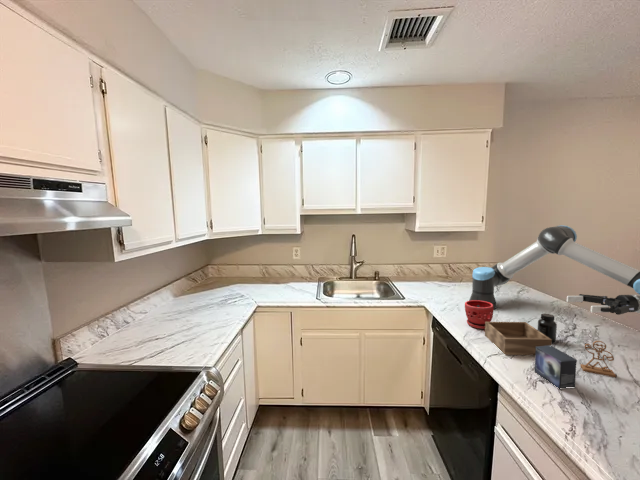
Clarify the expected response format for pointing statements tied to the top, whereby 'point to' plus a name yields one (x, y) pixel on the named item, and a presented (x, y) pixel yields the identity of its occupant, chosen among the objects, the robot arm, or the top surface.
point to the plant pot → (478, 313)
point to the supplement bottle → (548, 326)
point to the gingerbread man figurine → (597, 369)
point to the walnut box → (515, 337)
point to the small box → (555, 366)
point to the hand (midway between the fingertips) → (578, 303)
